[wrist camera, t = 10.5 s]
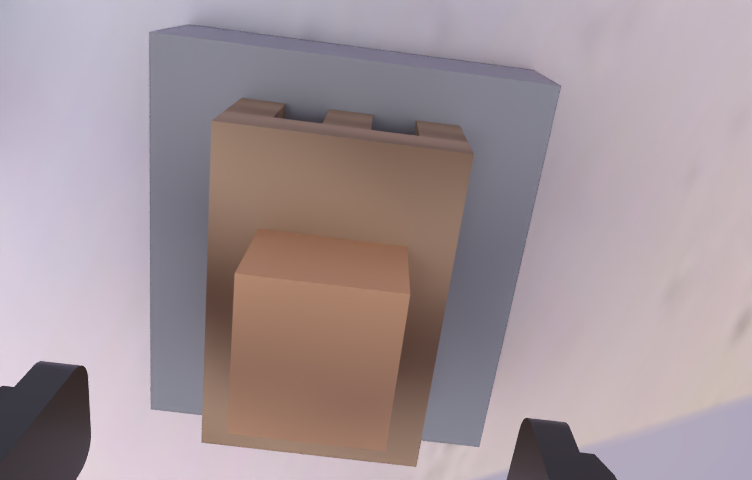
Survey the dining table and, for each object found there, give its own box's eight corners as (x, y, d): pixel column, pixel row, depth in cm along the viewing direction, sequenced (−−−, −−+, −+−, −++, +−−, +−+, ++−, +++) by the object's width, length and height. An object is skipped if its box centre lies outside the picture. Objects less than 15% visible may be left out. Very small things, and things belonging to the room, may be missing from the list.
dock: (187, 24, 20) (149, 32, 17) (533, 70, 21) (561, 86, 17) (182, 353, 25) (150, 409, 21) (467, 386, 25) (479, 446, 22)
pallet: (241, 97, 18) (211, 120, 15) (459, 125, 18) (474, 153, 15) (228, 377, 21) (201, 442, 18) (412, 398, 21) (416, 466, 18)
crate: (258, 228, 16) (234, 273, 13) (406, 246, 16) (410, 294, 13) (250, 370, 17) (227, 433, 15) (386, 385, 17) (385, 451, 15)
